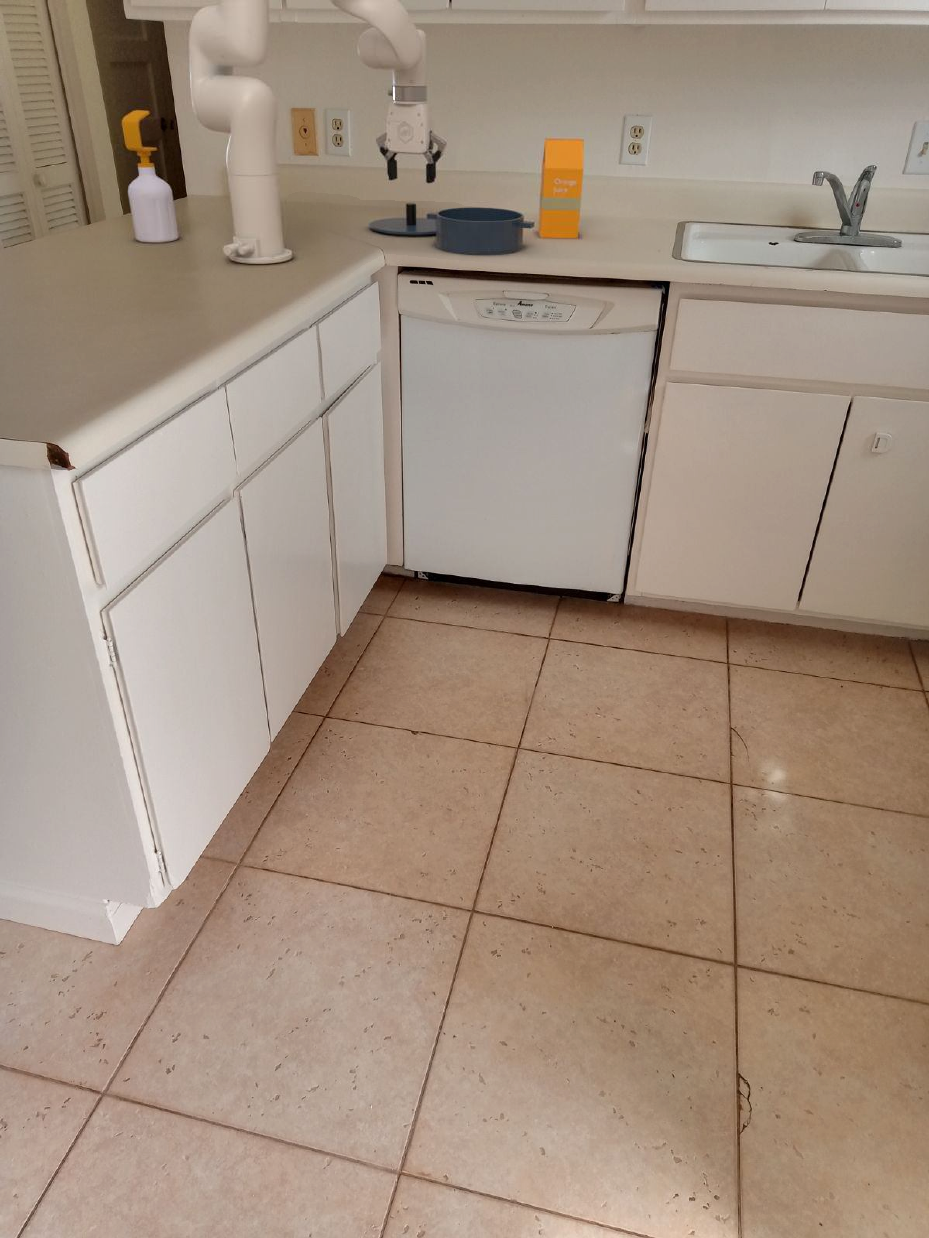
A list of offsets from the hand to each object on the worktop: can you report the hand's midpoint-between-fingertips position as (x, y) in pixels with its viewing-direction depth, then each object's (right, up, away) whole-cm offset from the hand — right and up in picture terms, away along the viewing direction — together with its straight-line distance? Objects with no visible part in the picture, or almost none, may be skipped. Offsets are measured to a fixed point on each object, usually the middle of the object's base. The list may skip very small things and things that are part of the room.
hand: (411, 181), depth 206 cm
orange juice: (+34, -11, +4) cm, 36 cm away
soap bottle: (-55, -18, -11) cm, 59 cm away
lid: (0, -8, +5) cm, 10 cm away
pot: (+16, -19, -10) cm, 27 cm away
